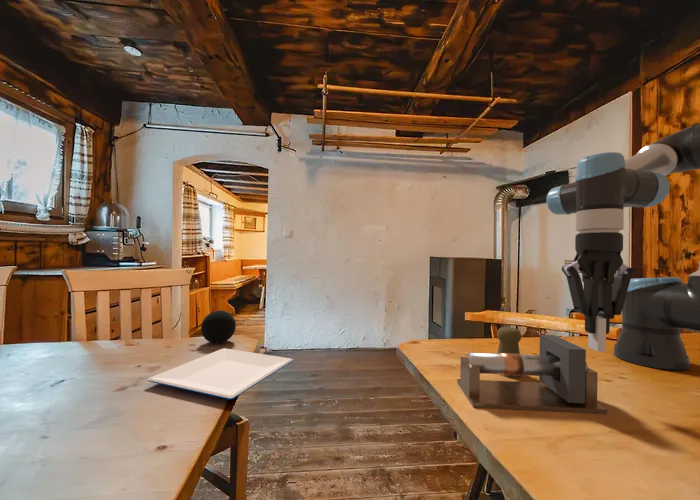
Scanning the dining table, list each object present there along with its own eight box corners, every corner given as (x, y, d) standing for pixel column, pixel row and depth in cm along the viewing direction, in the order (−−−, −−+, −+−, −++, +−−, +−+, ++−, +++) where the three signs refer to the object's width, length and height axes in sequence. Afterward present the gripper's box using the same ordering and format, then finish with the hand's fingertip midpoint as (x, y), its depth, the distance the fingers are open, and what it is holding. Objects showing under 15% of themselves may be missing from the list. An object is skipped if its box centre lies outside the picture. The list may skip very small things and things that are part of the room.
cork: (526, 379, 72) (527, 331, 72) (498, 376, 73) (499, 330, 73) (517, 369, 78) (518, 325, 78) (492, 367, 79) (492, 324, 79)
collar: (553, 380, 67) (554, 335, 67) (585, 403, 57) (585, 349, 57) (539, 380, 67) (539, 334, 67) (568, 402, 57) (569, 349, 57)
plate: (145, 388, 65) (145, 378, 65) (223, 355, 86) (223, 347, 86) (231, 408, 57) (231, 397, 57) (293, 366, 78) (293, 358, 78)
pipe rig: (568, 387, 67) (569, 347, 67) (607, 413, 56) (607, 366, 56) (457, 382, 69) (457, 344, 69) (473, 407, 58) (473, 361, 58)
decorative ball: (196, 348, 90) (197, 314, 90) (205, 338, 100) (206, 308, 100) (232, 346, 92) (233, 313, 92) (237, 337, 102) (238, 307, 102)
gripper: (617, 234, 65) (616, 345, 65) (553, 233, 66) (551, 342, 66) (649, 231, 58) (647, 357, 58) (577, 230, 59) (575, 354, 58)
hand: (596, 349), depth 62 cm, fingers closed
